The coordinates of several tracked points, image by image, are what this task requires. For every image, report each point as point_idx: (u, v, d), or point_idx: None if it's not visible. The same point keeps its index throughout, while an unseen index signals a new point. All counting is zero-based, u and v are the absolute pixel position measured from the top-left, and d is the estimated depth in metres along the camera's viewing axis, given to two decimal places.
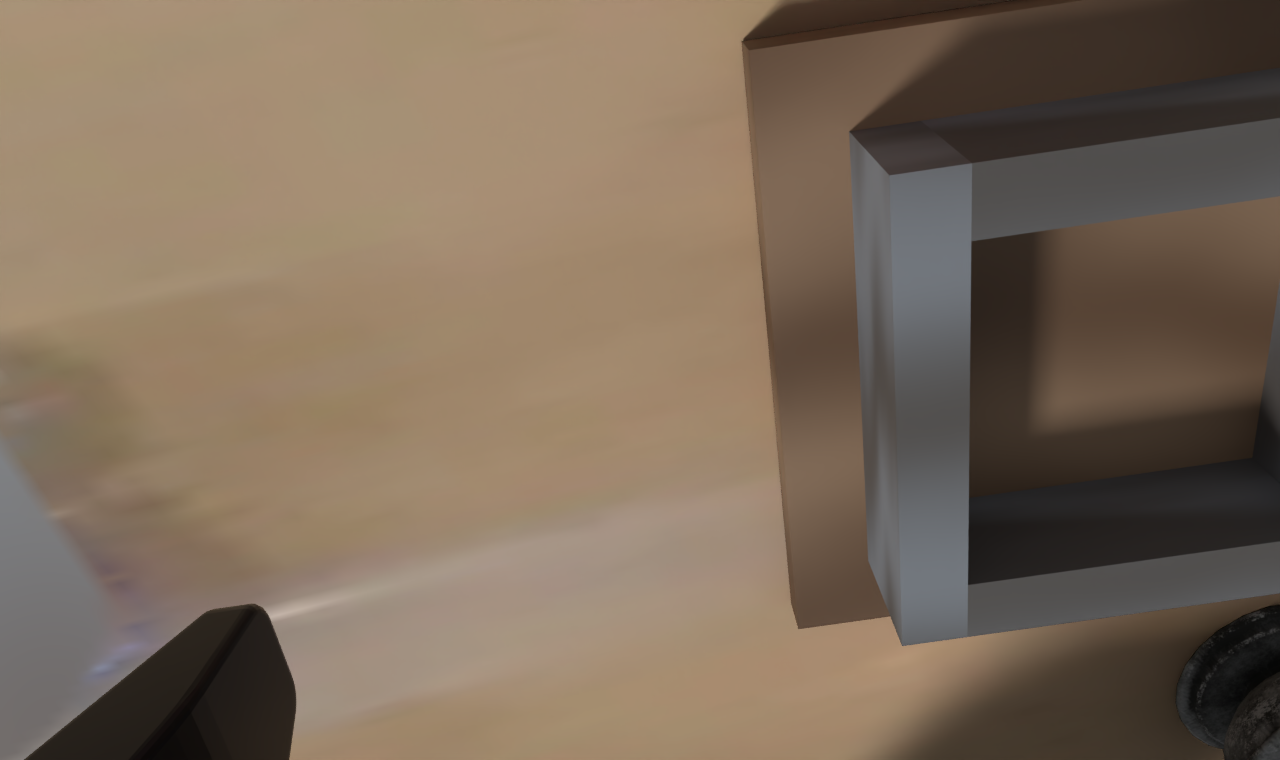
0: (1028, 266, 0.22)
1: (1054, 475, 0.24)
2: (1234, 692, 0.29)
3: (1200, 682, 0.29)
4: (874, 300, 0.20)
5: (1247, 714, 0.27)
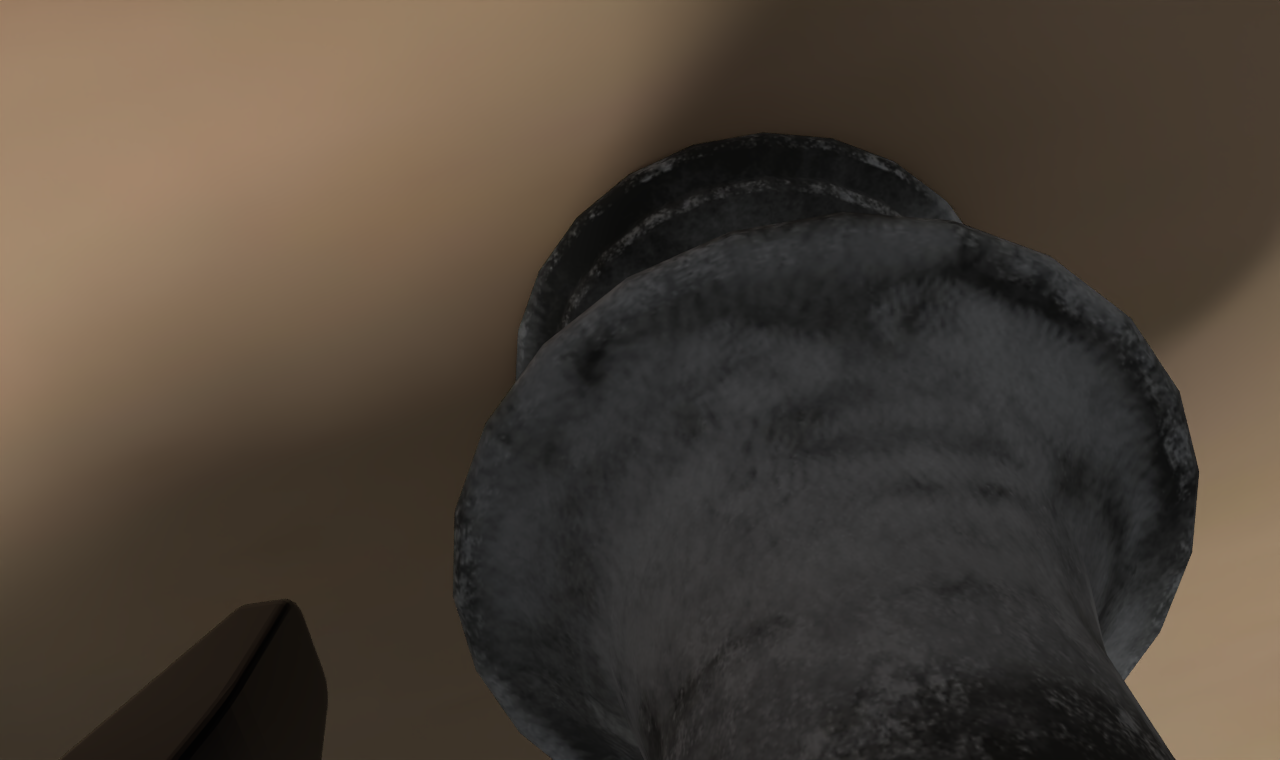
0: None
1: None
2: None
3: None
4: None
5: None
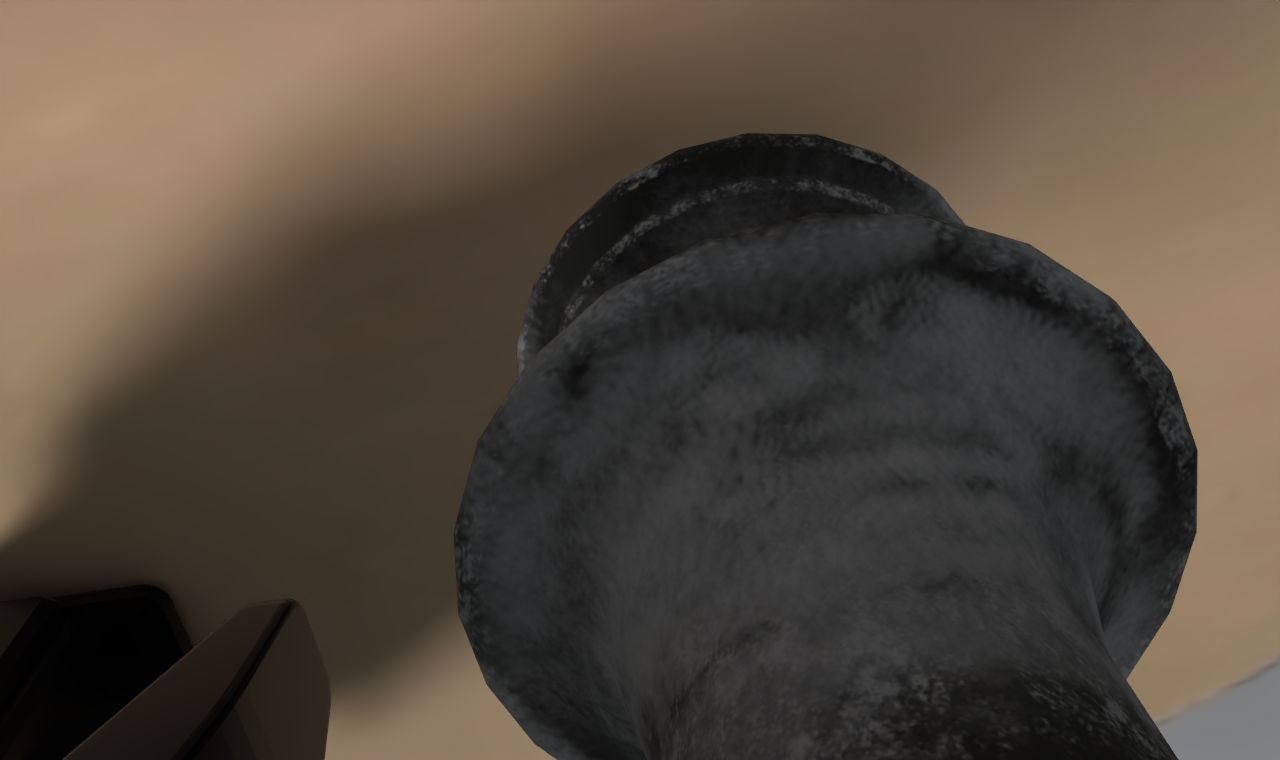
0: None
1: None
2: None
3: None
4: None
5: None
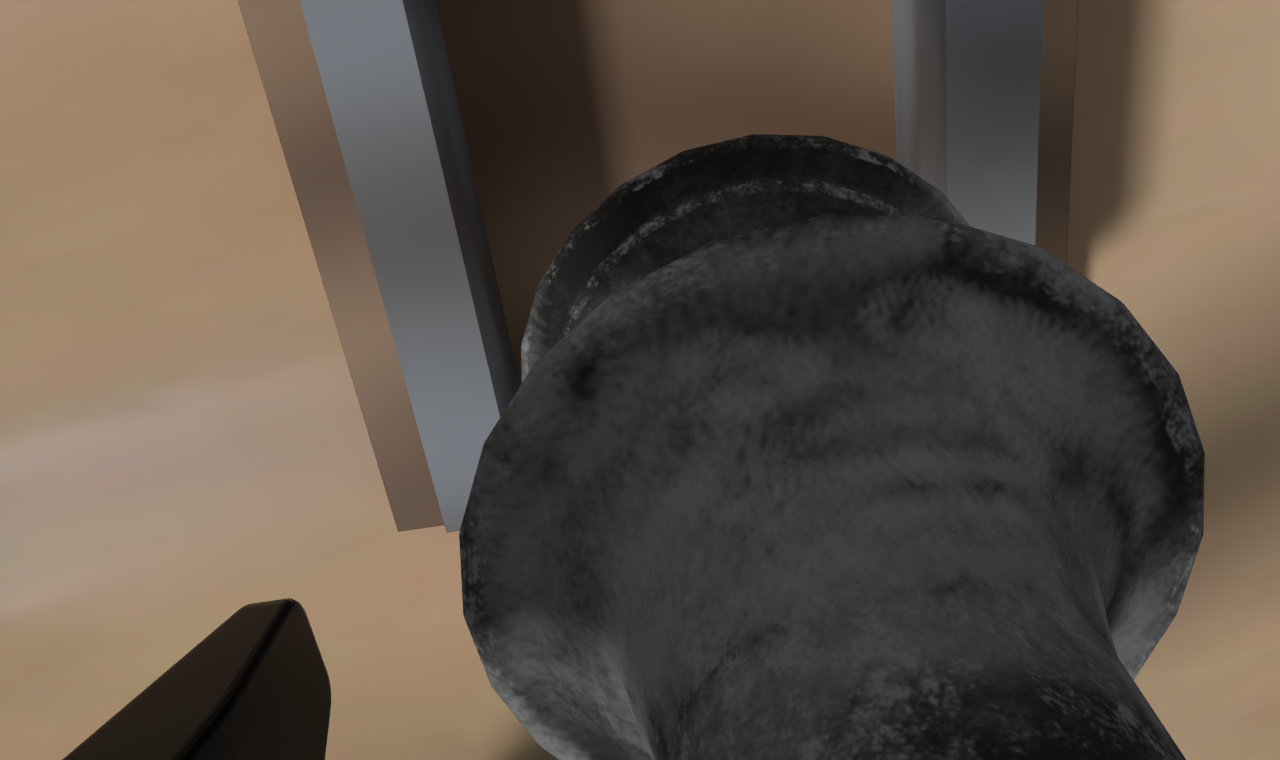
0: (580, 69, 0.18)
1: None
2: None
3: None
4: None
5: None
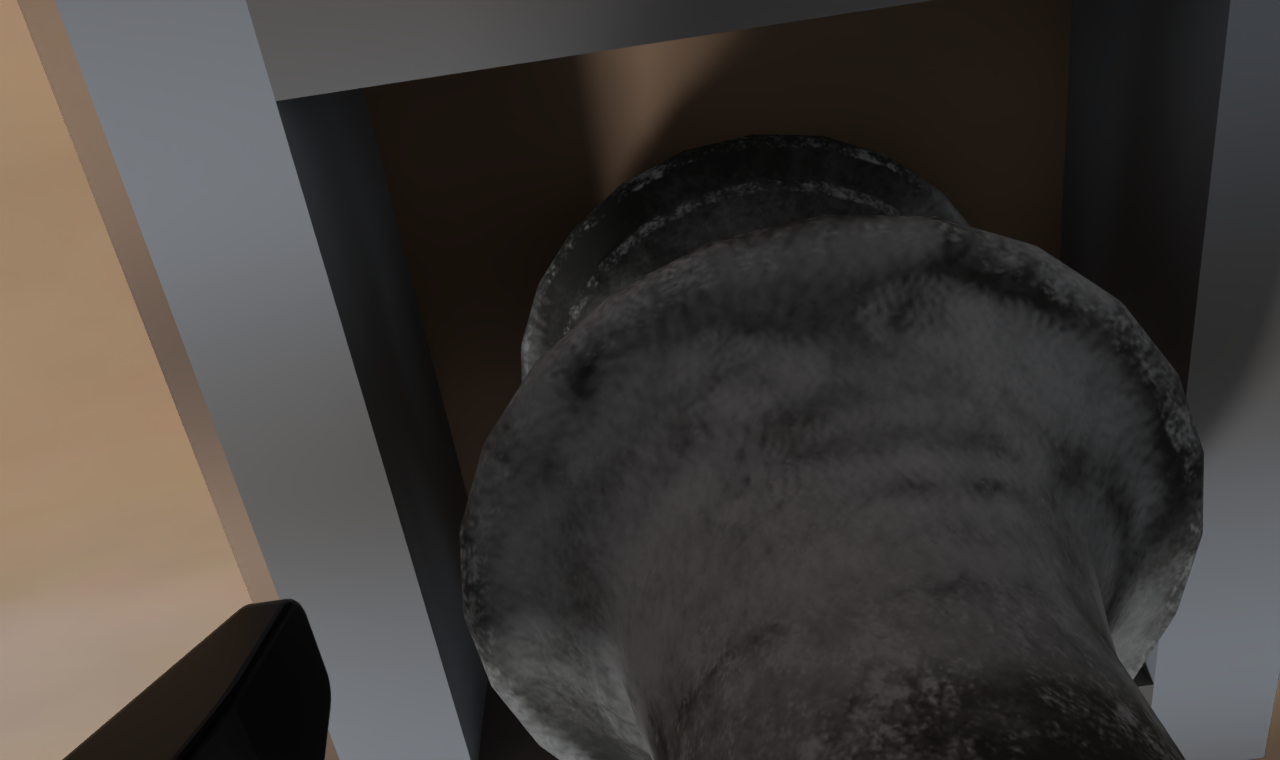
0: (588, 189, 0.12)
1: None
2: None
3: None
4: None
5: None
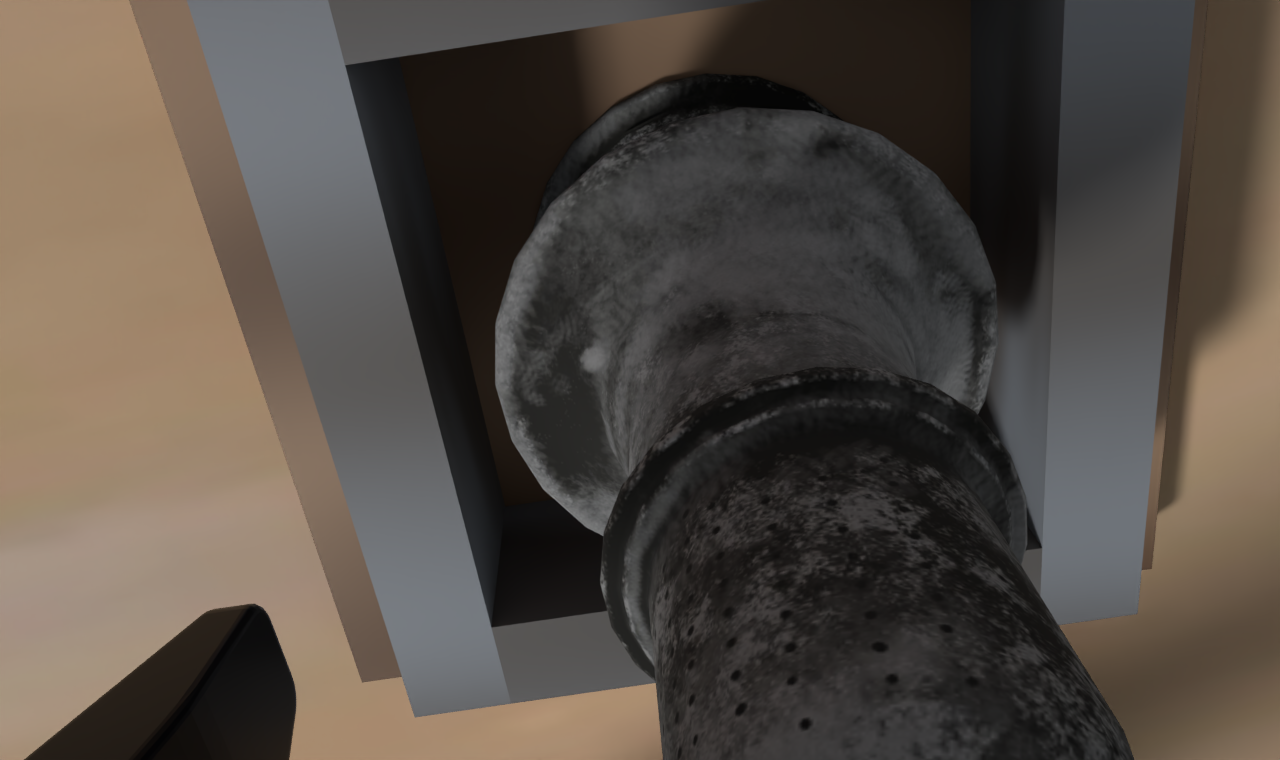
0: None
1: None
2: None
3: (648, 122, 0.14)
4: None
5: None
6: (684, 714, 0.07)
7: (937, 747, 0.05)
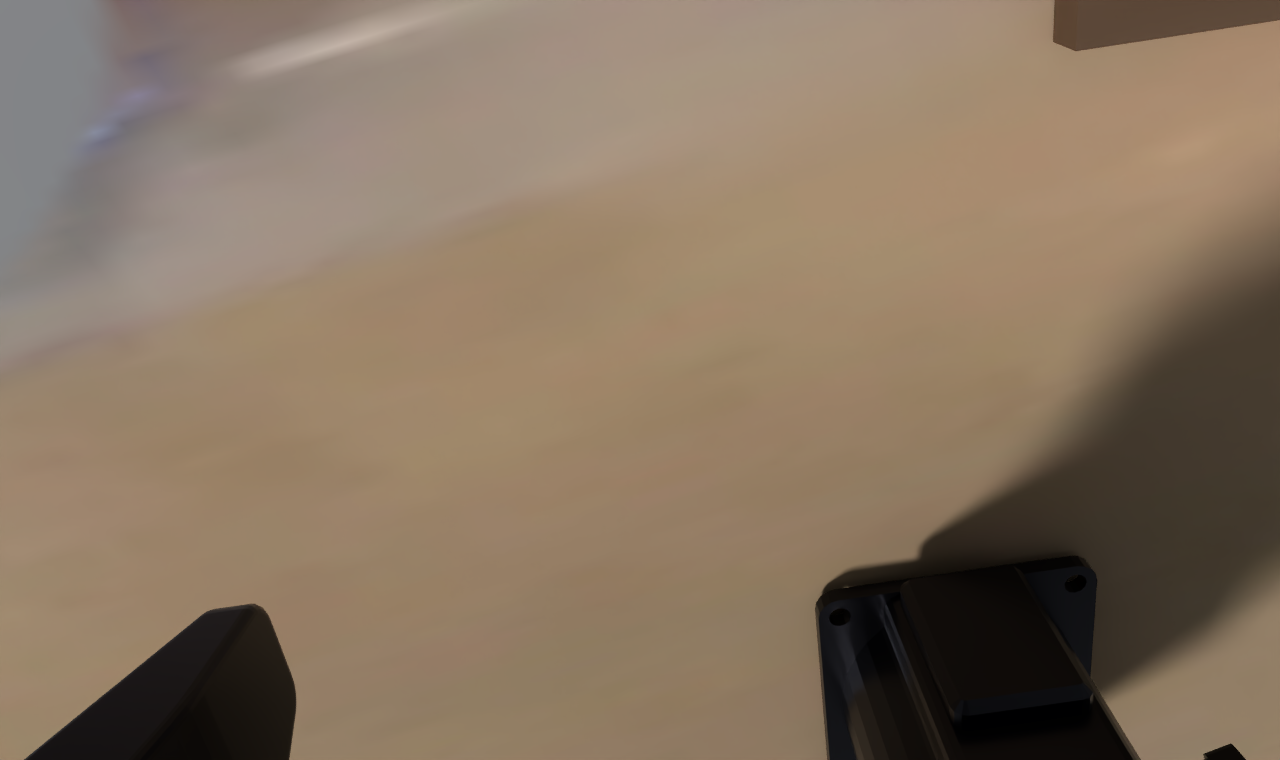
0: None
1: None
2: None
3: None
4: None
5: None
6: None
7: None
